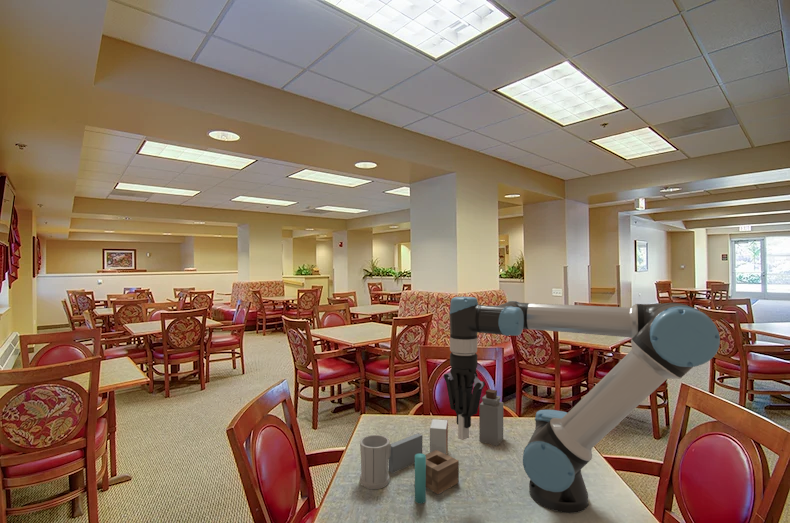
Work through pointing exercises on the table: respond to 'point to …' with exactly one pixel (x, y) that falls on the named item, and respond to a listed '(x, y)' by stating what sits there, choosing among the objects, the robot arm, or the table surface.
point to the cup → (374, 461)
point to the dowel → (420, 478)
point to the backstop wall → (404, 452)
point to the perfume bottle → (491, 418)
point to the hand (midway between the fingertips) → (463, 437)
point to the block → (441, 471)
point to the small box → (439, 436)
